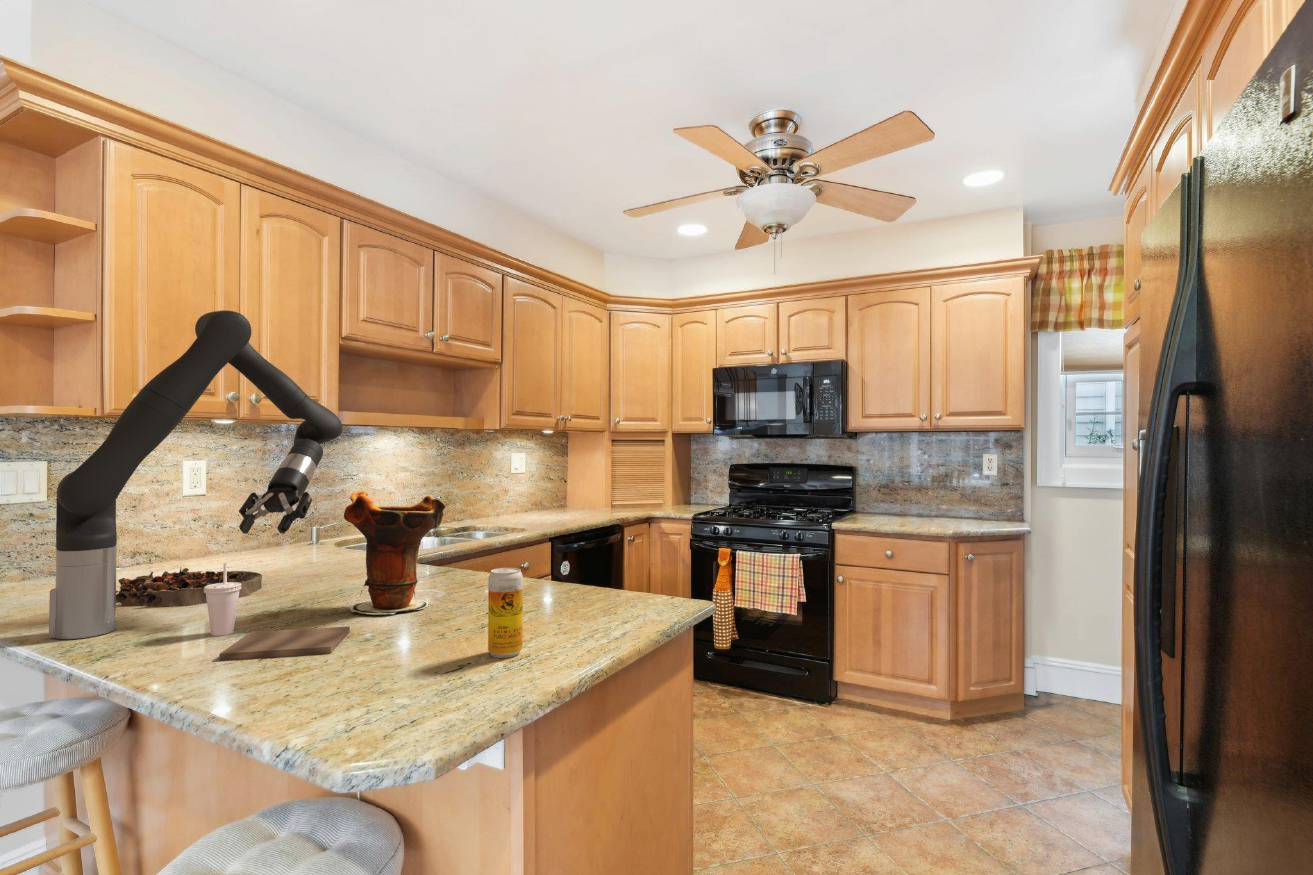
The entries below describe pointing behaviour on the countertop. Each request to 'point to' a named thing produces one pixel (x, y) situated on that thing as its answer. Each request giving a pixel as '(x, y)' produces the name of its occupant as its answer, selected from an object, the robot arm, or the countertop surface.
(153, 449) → the robot arm
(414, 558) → the decorative vase
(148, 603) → the food dish
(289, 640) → the walnut board
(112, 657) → the countertop surface
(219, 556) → the countertop surface
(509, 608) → the beer can
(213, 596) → the smoothie
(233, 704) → the countertop surface
